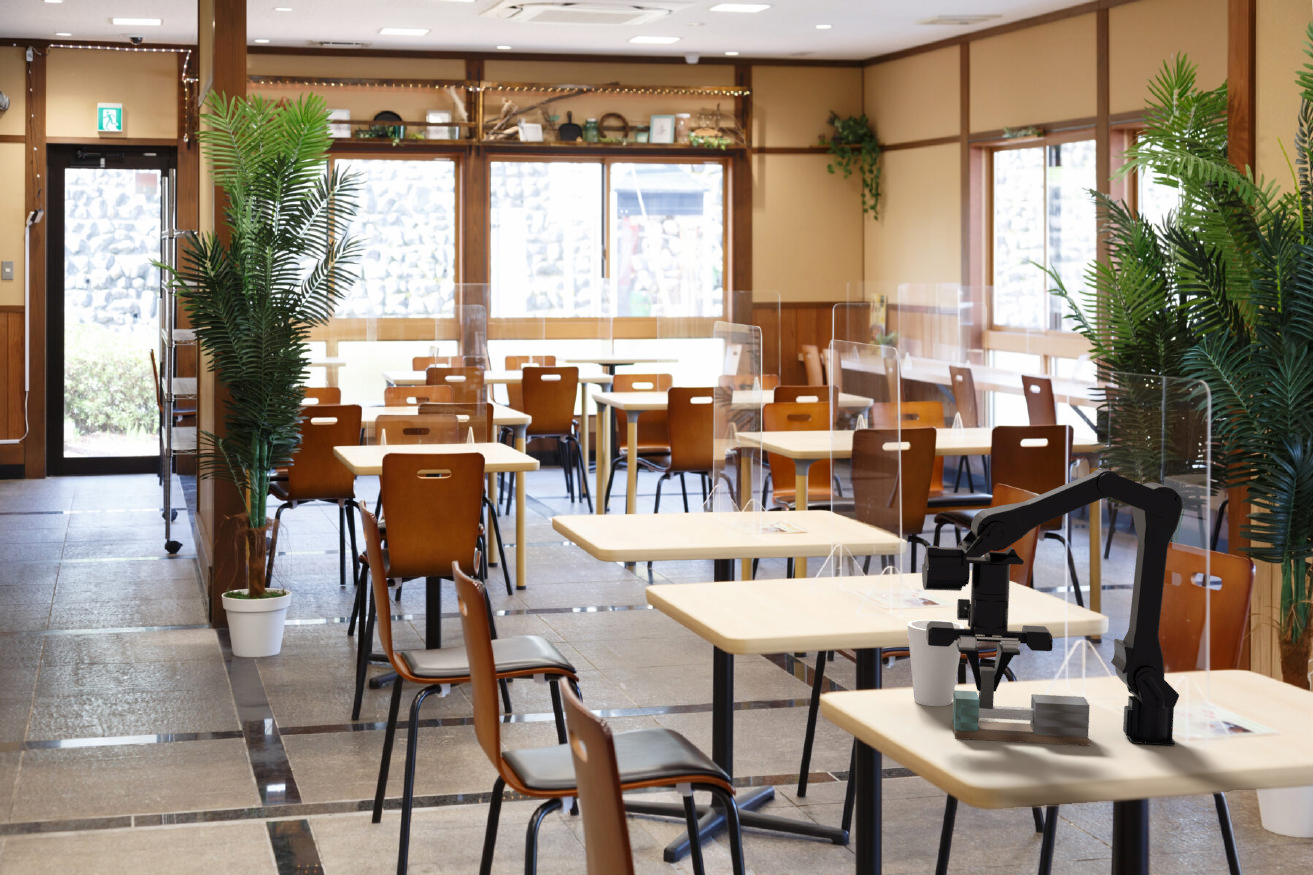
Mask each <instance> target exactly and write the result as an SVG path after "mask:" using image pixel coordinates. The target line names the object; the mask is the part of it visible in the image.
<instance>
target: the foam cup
mask: <svg viewBox="0 0 1313 875" xmlns="http://www.w3.org/2000/svg"><path fill="white" fill-rule="evenodd" d="M930 621H935V622H952V624H953V627H954V628H960V629H965V627H964V625H963V624H961V623H959V622H955V621H950V620H942V619H915V620H911V621H908V622H907V632H906V633H907V634H906V637H907V640H908V646H909V648H908V649H909V655H910V656H909V657H910V668H911V677H912V678H911V679H912V690H913V700H914V702H915V703H917V704H919V705H923V706H929V707H944V706H945V707H947V706H950V705H951V704H952V705H953V693H954V690H955V689H956V688H955V687H956V681H957V675H958V671H959V664H960V658H961V652H959V651H958V648H957V644H956V642H957V640H954V642H953V643H952V644H951V645H950V646H949V647H944V646H930V645H928V643H927V639H926V627H927V624H928V623H929V622H930Z"/></svg>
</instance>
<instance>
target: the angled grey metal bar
mask: <svg viewBox="0 0 1313 875" xmlns="http://www.w3.org/2000/svg"><path fill="white" fill-rule="evenodd" d="M994 673H995V671H994V667H993V666H980V679H981V686H980V691H978V698H979V719H991V720H992V719H996V720H997V719H998V720H1015V721H1034V708H1031V707H1024V706H1023V707H1021V706H1005V705H1004V706H1002V705H994V699H995V698H994V696H995V693H994Z"/></svg>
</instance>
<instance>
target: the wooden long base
mask: <svg viewBox="0 0 1313 875" xmlns="http://www.w3.org/2000/svg"><path fill="white" fill-rule="evenodd" d="M977 692H978V691H974V690H958V689H957V690H956V689H954V693H953V700H952V719H951V727H952V728H951V729H952V731H953V732H952V733H953V736H954V739H956V740H957V739H958V740H959V739H961V740H975V741H994V742H1013V743H1016V742H1017V743H1027V744H1029V743H1030V744H1031V743H1032V744H1049V745H1064V746H1065V745H1066V746H1069V745H1070V746H1085V747H1089V746H1090V738H1089V727H1090V726H1089V725H1090V704H1089V703H1088V701H1087V699H1086V697H1084V696H1071V695H1069V696H1068V695H1053V694H1052V695H1051V694H1035V693H1033V694H1031V695H1030V696H1031V697H1030V698H1031V699H1030V708H1034V721H1030V720H1029V721H1030V722H1029V723H1023V722H1007V721H1006V722H1003V721H1000V722H999V721H987V720H985V721H982V720H979V719H980V718H979V694H978V693H977Z"/></svg>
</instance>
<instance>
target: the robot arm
mask: <svg viewBox="0 0 1313 875" xmlns="http://www.w3.org/2000/svg"><path fill="white" fill-rule="evenodd" d="M1105 498H1112V499H1114V500H1116V501H1118V502H1119V501H1120V502H1121V503H1124V504H1127V505H1129V506H1131V507H1132V516H1133V523H1134V528H1135V533H1136V536H1137V547H1136V548H1137V549H1136V557H1135V567H1134V577H1133V587H1132V595H1131V606H1130V615H1129V625H1128V626H1129V627H1128V629H1127V632H1126V634H1125V636H1124V638H1123V639H1118V638H1114V640H1113V645H1114V646H1113V648H1114V653H1113V658H1112V660H1111V662H1110V663H1111V665H1113V666H1114V668H1115V669H1114V670H1115V674H1116V675H1117V677H1118V679H1120V681H1121V682H1122V683H1123V684H1125V685H1126V688H1127V692H1129V693H1130V694H1132V695H1128V698H1127V699H1128V700H1127V701H1128V703H1127V705H1125V706H1124V707H1123V727H1122V731H1123V732H1124V734H1125V735H1126V736H1127V738H1128V739H1129V741H1130V742H1131V743H1132V744H1149V745H1166V746H1168V745H1169V746H1175V745H1176V741H1175V740H1174V738H1173V736H1174V735H1173V732H1174V731H1173V730H1174V714H1175V712H1174V710H1175V707H1176V704H1177V702H1178V700H1179V697H1180V694H1179V693H1178V691H1176V689H1174V688H1173V687H1172V685H1171V684H1169V683H1168V682H1167V681H1166V680H1165V665H1164V656H1163V651H1162V646H1161V641H1160V636H1159V635H1160V634H1159V633H1160V625H1161V623H1160V622H1161V613H1162V606H1163V597H1164V595H1163V594H1164V587H1165V577H1166V576H1165V575H1166V568H1167V567H1166V566H1167V558H1168V549H1169V544H1170V542H1171V541H1172V538H1173V537H1174V534H1175V533H1176V531H1177V530H1178V529H1177V528H1178V525H1179V523H1180V519H1181V515H1182V512H1183V507H1184V506H1183V499H1182V497H1181V495H1180V494H1179V493H1178V492H1177V491H1176V490H1174V489H1173V488H1171V487H1170V486H1166V485H1164V484H1161V483H1158V482H1154V481H1153V482H1147V483H1144V484H1141V483H1139V482H1137V481H1134V480H1131V479H1129V478H1127V477H1124V476H1121V475H1119V474H1118V473H1116V472H1115V471H1113V470H1110V469H1108V468H1103V467H1102V468H1098V469H1096V470H1093V472H1091V473H1089V474H1088V475H1085V476H1082V477H1080V478H1077V479H1075V480H1073V481H1070V482H1068V483H1066V484H1063V485H1061V486H1058V487H1057V488H1056V487H1055V488H1054V489H1052V490H1049V491H1047V492H1044V493H1042V494H1040V495H1039V494H1038V495H1037V496H1034V497H1033V498H1030V499H1028V500H1025V501H1021V502H1016V503H1010V504H1002V505H998V506H994V507H990V508H986V509H981V510H980V511H979V512H977V513H976V514H975V515H974V516H973V519H972V520H971V526H970V530H969V531H968V532H967V533H966V534H965V536H964V537H963V538H962V540H961V541H960V542H959V543H958V544H957V546H956V547H946V546H945V547H944V546H943V547H942V546H941V547H940V546H936V545H926V547H925V554H924V557H923V563H922V564H921V565H922V566H921V580H922V587H923V590H924V591H956V592H958V591H959V592H960V591H962V590H963V587H967V585H969V584H970V577H971V588H970V589H971V591H970V599H969V598H968V599H967V598H965V599H964V598H958V599H957V603H956V604H957V608H956V610H957V611H956V619H957V621H967V627H968V628H964V629H960V628H954V627H953V624H952V622H953V621H950V622H935V621H930V622H929V623H928V624H927V627H926V639H927V643H928V645H930V646H944V647H949V646H950V645H951V644H952V643H953V642H954V640H957V642H956V644H957V648H958V651H959V652H961V653H963V654H965V655H966V657H967V660H968V662H969V665H970V669H971V672H972V675H973V676H972V677H973V679H974V684H975V688H976V690H977V691H976V692H979V691H980V686H981V679H980V667H981V666H980V654H979V649H978V646H977V643H978V642H985V643H997V644H996V655H995V656H996V658H995V663H994V667H993V669H994V671H995V673H994V692H997V690H998V687H999V685H1000V683H1001V680H1002V678H1003V675H1004V673H1005V671H1006V669H1007V668H1008V666H1009V664H1010V662H1011V661H1012V659H1013V658H1014V656H1021V650H1020V648H1019V647H1020V646H1021V644H1026V646H1027V647H1028V648H1029V649H1030V650H1031V651H1034V652H1053V643H1054V642H1053V641H1054V640H1053V635H1052V633H1051V632H1050V630H1049V629H1048V628H1047V627H1046V626H1045V625H1044V626H1043V625H1042V626H1041V625H1022V628H1021V630H1008V628H1009V627H1008V626H1009V625H1008V624H1009V605H1010V604H1009V603H1010V602H1009V601H1010V583H1011V582H1010V578H1011V565H1015V566H1017V565H1019V566H1020V565H1024V564H1025V561H1024V560H1023V559H1022V558H1021V557H1020V556H1019V555H1018V553H1017V552H1016V549H1015V548H1014V547H1012V545H1013V544H1016V542H1018V541H1019V540H1021V539H1023V538H1024V537H1025V536H1026V535H1028V533H1030V532H1031V531H1033V530H1034V529H1035V528H1037V527H1038V526H1041V525H1042V524H1045V523H1047V522H1051V521H1052V520H1054V519H1057V518H1059V517H1062V516H1065V515H1067V514H1069V513H1071V512H1074V511H1076V510H1078V509H1081V508H1084V507H1086V506H1088V505H1091V504H1094V503H1095V502H1097V501H1100V500H1102V499H1105ZM1005 549H1006V550H1005ZM1003 550H1004V551H1003ZM970 564H971V565H970ZM970 566H971V569H970ZM970 571H971V572H970ZM970 573H971V574H970Z"/></svg>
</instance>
